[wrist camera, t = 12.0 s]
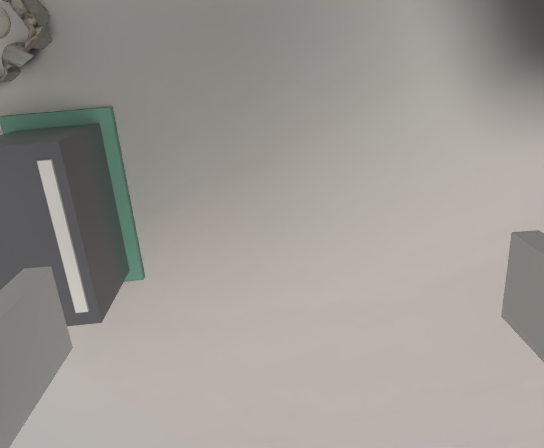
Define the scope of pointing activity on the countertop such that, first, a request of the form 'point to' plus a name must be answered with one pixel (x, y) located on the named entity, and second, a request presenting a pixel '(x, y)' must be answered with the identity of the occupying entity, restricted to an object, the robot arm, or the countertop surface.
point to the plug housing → (62, 216)
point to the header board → (113, 159)
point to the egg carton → (38, 37)
